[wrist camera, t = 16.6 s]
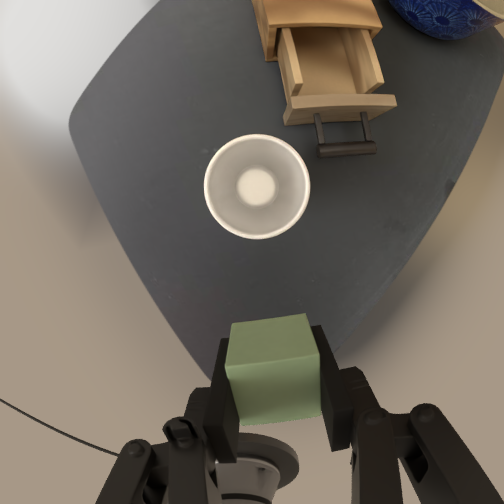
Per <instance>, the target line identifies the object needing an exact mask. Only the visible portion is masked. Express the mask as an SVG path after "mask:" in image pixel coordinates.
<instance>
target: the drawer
mask: <svg viewBox="0 0 504 504" xmlns="http://www.w3.org/2000/svg"><path fill="white" fill-rule="evenodd" d="M275 49H276V53H277V58H278V62H279V67H280V71H281V76H282V81H283V85H284V90H285V95H286V100H287V104H288V105H287V107H286V110H285V112H284V115H283V120H284V125H285V126H289V125H299V124H310V123H315V128H316V134H317V139H318V145H317V147H316V150H317V155H318V158H331V157H342V156H355V155H371V154H376V152H377V147H376V143H375V142H374V141H372V137H371V131H370V126H369V121H368V120H371V119H373V118H375V117H377V116H379V115H381V114H383V113H385V112H386V111H388V110H390V109H392V108H394V107H396V106H397V103H396V99H395V95H388V94H370V93H372V92H373V91H374V90H376V89H377V88H378V87H380V86H381V85H382V84H383V83H384V79H383V76H382V72H381V69H380V65H379V62H378V59H377V55H376V52H375V49H374V46H373V43H372V40H371V37H370V35H369V32H368V29H362V28H350V27H327V26H304V27H281V28H277V31H276V38H275ZM339 121H361V122H362V127H363V132H364V138H365V141H357V142H341V143H328V144H325V138H324V133H323V127H322V123H323V122H339Z"/></svg>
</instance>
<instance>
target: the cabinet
mask: <svg viewBox="0 0 504 504" xmlns="http://www.w3.org/2000/svg"><path fill="white" fill-rule="evenodd" d="M252 3H253V7H254V11H255V15H256V20H257V24H258V28H259V33H260V37H261V41H262V46H263V51H264V55H265V60H266V62H271V61H278V58H277V53H276V49H275V38H276V31H277V28H281V27H304V26H327V27H350V28H362V29H368V32H369V35H370V37H371V40H372V39H373V38H374V37H375V36H376V35H377V33H378V32H379V31H380V30H381V29H382V28H383V27H382V24H381V22H380V19H379V17H378V14H377V12H376V10H375V7H374V5H373V3H372V1H371V0H252Z"/></svg>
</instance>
